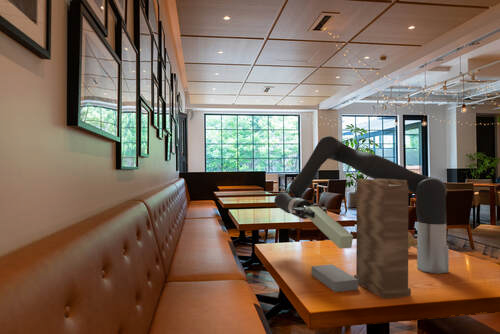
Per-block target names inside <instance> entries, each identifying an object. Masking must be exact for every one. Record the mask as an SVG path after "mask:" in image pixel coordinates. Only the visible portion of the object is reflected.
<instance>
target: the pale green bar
mask: <svg viewBox="0 0 500 334" xmlns="http://www.w3.org/2000/svg"><path fill="white" fill-rule="evenodd" d="M308 209H309V210H311V211H314V212H315V218H311V217H308V218H307V219H309V220H310V222H312V223H313V225H315V226H316V227H317V228H318V229H319V230H320V231H321V232H322V233H323V235H325V236H326V237H327V238H328V239H329V240H330V241H331V242H333V243H332V244H334V245H335V246H336V247H337V248H339V249H341V250H342V249H351V248H352V246H353V241H354V240H353V239H354V235H353V234H352V233H351V232H349V231H348V230H347V229H346V228H345V227H343V226H342V225H341V224H340V223H339V222H337V221H336V220H335V219H334V218H333V217H332V216H330V215H329V214H328V212H327V211H326V212H327V213H326V212H324V211H323V210H322V209H321V207H320V206H315V207H308Z"/></svg>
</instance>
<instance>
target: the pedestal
mask: <svg viewBox="0 0 500 334" xmlns="http://www.w3.org/2000/svg"><path fill="white" fill-rule="evenodd" d="M408 231H409V191H408V185H407V180H392V179H372V178H370V179H369V178H368V179H367V178H357V182H356V243H355V244H356V254H355V255H356V256H355V257H356V259H355V261H356V265H355V266H356V272H355V273H356V274H354V276H353V277H355V278H357V279H358V285H360V286H362V287H364V288H365V289H367V290H369V291H370V292H371V293H374V294H375V295H377V296H378V297H381V298H382V299H383V300H388V299H394V298H395V299H396V298H397V299H398V298H403V297H412V296H411V295H412V289H411V288H410V287H409V248H408Z"/></svg>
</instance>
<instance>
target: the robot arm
mask: <svg viewBox="0 0 500 334" xmlns="http://www.w3.org/2000/svg"><path fill="white" fill-rule="evenodd" d="M327 160H331V161H335V162H338V163H341V164H344V165H347V166H349V167H351V168H353V169H354V170H356V171H358V172H359V173H361V174H362V175H365V176H367V178H368V177H369V178H370V179H372V180H374V179H392V180H407V185H408V192H411V193H412V194H415V203H416V204H415V205H416V208H415V209H416V218H417V219H416V220H417V222H416V223H417V224H416V226H417V229H416V230H417V232H416V235H417V236H416V237H417V238H416V239H417V248H416V251H417V256H416V257H417V258H416V259H417V261H416V263H417V264H416V265H417V267H416V268H417V269H418V270H420V271H421V272H426V273H430V274H445V273H447V274H449V273H450V272H449V270H450V268H449V265H450V262H449V260H450V259H449V257H450V256H449V254H450V252H449V249H450V247H449V245H448V244H447V193H448V189H447V186H446V184H445V182H443V181H442V180H441V179H438V178H435V177H431V176H427V175H424V174H421V173H417V172H415V171H412V170H411V169H407V167H404V166H403V165H400V164H398V163H397V162H394V161H392V160H390V159H387V158H386V157H382V156H380V155H378V154H375V153H372V152H368V151H362V150H358V149H355V148H354V147H351V146H350V145H347V144H345V143H343V142H342V141H340V140H339V139H337V138H336V137H334V136H332V135H326V136H323V137H321V139H319V141H318V142H317V143H316V146H315V148H314V150H313V151H312V153H311V155H310V157H309V158H308V160H307V161H306V164H305V165H304V166H303V168H302V169H301V171H300V172H299V173H298V175H296V177H295V178H294V179H293V181H292V182H291V183H290V184H289V185H288V189H289V191H290V192H291V194H292V195H293V196H291V195H289V194H288V193H287V192H279V193H278V194H276V196H275V197H274V205H275V206H276V207H277V208H279V209H280V210H282V211H284V212H285V213H287V214H291V215H293V216H294V217H297V218H299V219H302V220H308V219H309V218H308V217H311V218H315V212H314V211H311V210H309V209H308V207H316V206H315V205H313V203H312V202H311V201H310V200H308V199H303V198H302V196H304V194H305V192H306V191H307V190H308V188H309V187H310V186H311V184H312V183H313V181H314V179H315V177H316V175H317V173H318V171H319V170H320V168H321V167H322V166H323V164H325V162H326V161H327ZM320 208H321V209H322V210H323V211H324V212H326V213H327V214H328V212H327V208H326V207H325V206H321V207H320Z"/></svg>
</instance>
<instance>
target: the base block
mask: <svg viewBox="0 0 500 334" xmlns="http://www.w3.org/2000/svg"><path fill="white" fill-rule="evenodd" d="M310 269H311V276H312V275H313V276H312V277H314V278H315V279H317V280H318V281H319V282H321V283H322V284H324V285H325V286H326V287H327V288H329V289H330V290H332V291H333V292H334V293H339V292H349V291H356V290H357V291H358V290H359V284H358V279H357V278H355V277H354V276H353V275H351V274H349V273H348V272H346V271H344V270H342V269H341V268H340V267H337V266H336V265H334V264H332V263H331V264H321V265H311V268H310Z"/></svg>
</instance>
